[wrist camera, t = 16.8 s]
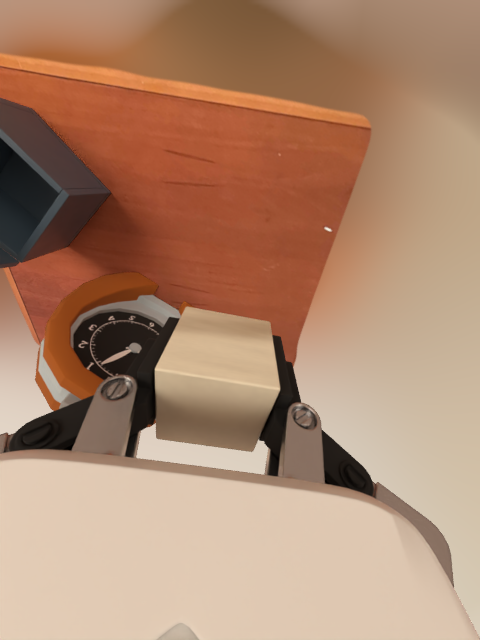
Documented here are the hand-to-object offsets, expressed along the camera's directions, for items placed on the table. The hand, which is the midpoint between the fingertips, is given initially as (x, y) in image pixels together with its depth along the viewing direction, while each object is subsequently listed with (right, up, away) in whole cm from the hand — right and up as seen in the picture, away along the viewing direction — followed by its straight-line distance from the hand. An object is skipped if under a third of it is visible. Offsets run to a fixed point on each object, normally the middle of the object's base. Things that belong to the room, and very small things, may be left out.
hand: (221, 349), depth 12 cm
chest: (-26, +21, +20) cm, 39 cm away
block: (0, 0, 0) cm, 0 cm away
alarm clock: (-14, +3, +31) cm, 34 cm away
